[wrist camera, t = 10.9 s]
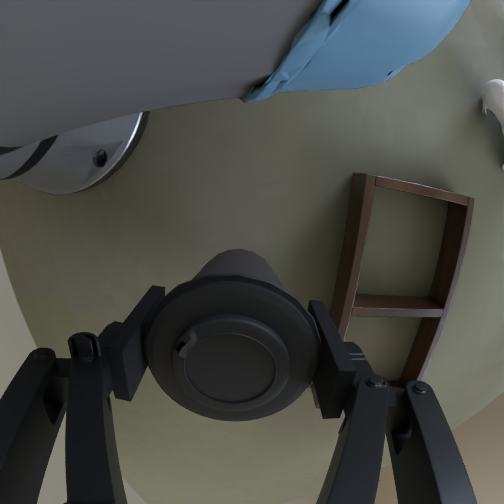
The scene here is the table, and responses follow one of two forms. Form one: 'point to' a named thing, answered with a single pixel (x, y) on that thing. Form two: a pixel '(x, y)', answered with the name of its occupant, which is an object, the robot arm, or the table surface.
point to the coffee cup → (232, 341)
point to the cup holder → (400, 306)
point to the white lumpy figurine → (494, 100)
